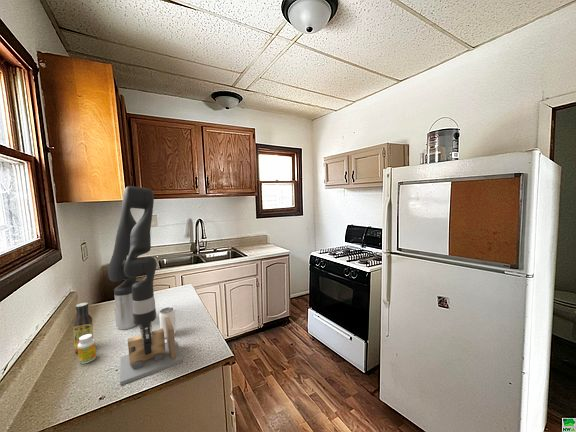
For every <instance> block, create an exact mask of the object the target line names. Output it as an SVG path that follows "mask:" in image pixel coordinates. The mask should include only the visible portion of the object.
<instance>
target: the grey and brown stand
mask: <svg viewBox="0 0 576 432" xmlns="http://www.w3.org/2000/svg"><path fill="white" fill-rule="evenodd" d="M165 322H166V335H167V338H166V341H165V351H166V353H164V354H163V353H161V354H158V355H155V356H154V357H153V358H150V359H147V360H144V361H142V360H140V361H137V362H134V363H133V365H130V360H129V354H126V355H123V356H121V357H120V379H119V380H120V382H119V383H120V386H122V385H125V384H128V383H130V382H133V381H136V380H138V379H141V378H143V377H146V376H150V375H151V374H154V373H157V372H160V371H162V370H165V369H168V368H170V367H173V366H175V365H178V364H181V363H183V357H182V355H181V354H182V353H181V351H180V349H179V346H178V343H177V340H176V339H175V335H174V328H173V326H172V323H171V320H170V318H169V317H166V318H165Z"/></svg>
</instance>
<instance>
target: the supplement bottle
mask: <svg viewBox="0 0 576 432" xmlns="http://www.w3.org/2000/svg"><path fill="white" fill-rule="evenodd" d="M79 342H80V343H79V344H78V353H77V355H78V363H79V364H80V365H81V364H82V365H84V364H88V363H90V362H92V361H94V360H95V359H96V358H97V349H96V348H97V347H96V340H95V338H93V339H92V334H86V335H83V336H81V337H80V338H79Z"/></svg>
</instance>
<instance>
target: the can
mask: <svg viewBox="0 0 576 432" xmlns="http://www.w3.org/2000/svg"><path fill="white" fill-rule="evenodd" d="M166 317H169V318H170V320H171V323H172V326H173V328H174V336H175V335H176V333H177V329H176V328H177V327H176V313H175V310H174V308H173V307H170V306H169V307H165V308H162V309H160V311H159V315H158V319H159V329H162V328H163V330H164V338H165V339H167V335H166V322H165V318H166Z"/></svg>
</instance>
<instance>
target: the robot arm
mask: <svg viewBox="0 0 576 432" xmlns="http://www.w3.org/2000/svg"><path fill="white" fill-rule="evenodd" d="M154 201H155V195H154V191H153V190H152V189H150V188H145V187H139V186H132V185H131V186H130V185H128V186H126V187H125V188H124V191H123V193H122V202H121V208H120V209H121V210H120V218H119V222H118V227H117V230H116V235H115V241H114V248H113V252H112V255H111V259H110V261H109V264H108V267H107V276H108V279H109V280H110V281H111V282H120V281H122V282H121V283H120V284H119V285H117V286H116V287H115V288H114V289H113V292H114V293H113V294H114V305H115V308H114V315H115V326H116V327H117V330H121V331H123V330H129V329H132V328H134V327H136V326H139V332H140V335H141V336H142V340H143V341H144V344H143V345H144V349H145V355H147V354H150V353H151V352H152V351H151V345H152V342H151V338H152V331H153V325H152V322H154V321H155V320H156V319H157V309H156V300H155V299H156V298H155V294H154V279H155V273H156V271H157V267H158V264H157V260H156V258H154V257H153V256H144V257H139V256H141V255H145V254H148V253H149V252H150V251H151V248H152V247H151V246H152V244H151V243H152V242H151V241H152V240H151V230H152V229H151V228H152V221H153V213H154V212H153V211H154V204H155V203H154ZM131 209H138V210H140V209H141V210H143V211H144V212H143V214H142V216H141V217H140V219H139V220H138V221H136V220H135V218H134V216H133V215H132V211H131ZM145 276H146V277H145ZM140 277H145V278H144V279H142V280H140V281H138V282H137V278H140Z"/></svg>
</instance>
